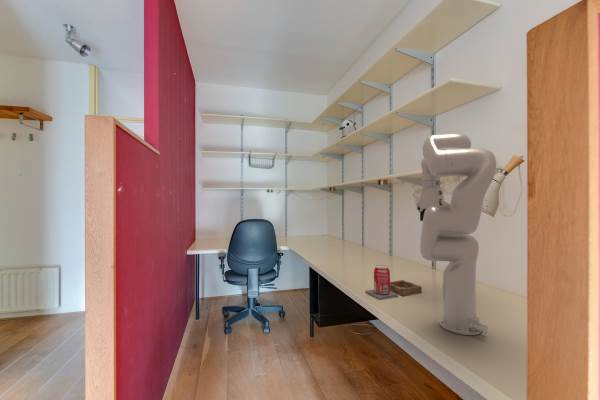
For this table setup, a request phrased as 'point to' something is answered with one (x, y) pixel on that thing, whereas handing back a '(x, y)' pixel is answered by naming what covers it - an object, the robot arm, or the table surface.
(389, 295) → the mat
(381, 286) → the soda can
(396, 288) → the brown wooden tray
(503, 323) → the table surface
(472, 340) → the table surface
